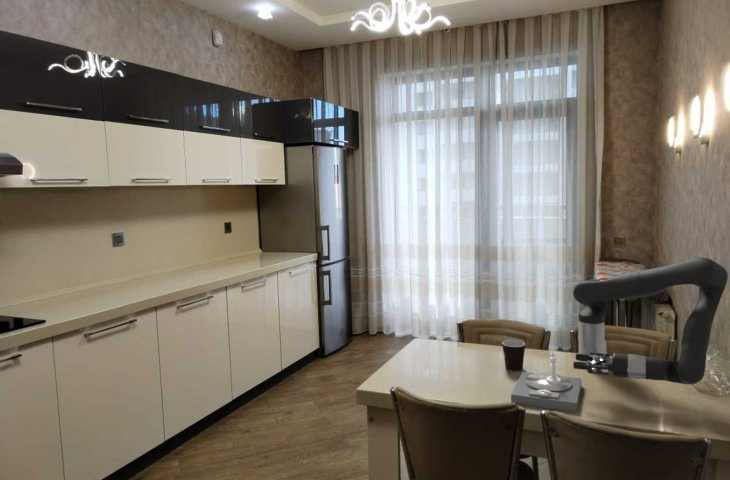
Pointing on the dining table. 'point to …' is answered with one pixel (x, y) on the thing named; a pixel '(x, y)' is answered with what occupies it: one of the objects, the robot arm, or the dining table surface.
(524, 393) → the kitchen scale
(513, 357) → the coffee mug
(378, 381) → the dining table surface
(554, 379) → the chess piece
